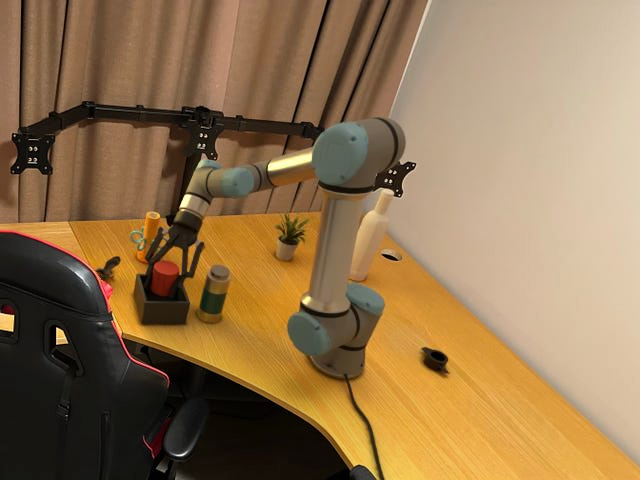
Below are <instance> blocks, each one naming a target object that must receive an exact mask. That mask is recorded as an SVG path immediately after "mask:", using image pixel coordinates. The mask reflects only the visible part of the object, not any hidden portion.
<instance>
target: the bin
mask: <svg viewBox="0 0 640 480" xmlns="http://www.w3.org/2000/svg"><path fill="white" fill-rule="evenodd" d="M179 275H181V273H179ZM147 277H148V276H146V275H145V273H136V274H135V281H134V288H133V299H134V303H135V307H136V309H137V313H138V318H139V321H140V324H141V325H187V320H188V316H189V311H190V307H191V301H190V299H189V296H188V293H187V291H186V288H185V284H183V286H182V288H181V289H180V288H177V291H176V293H175V296H174V298H173V299H170V297H169V296H160V295H157V294H155V293H154V292H153V291H152V290H151V287H150V286H151V284H150V286H149V288H148V290H147V289H145V288H144V287H143V286H144V284H145V281H146V279H147Z"/></svg>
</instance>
